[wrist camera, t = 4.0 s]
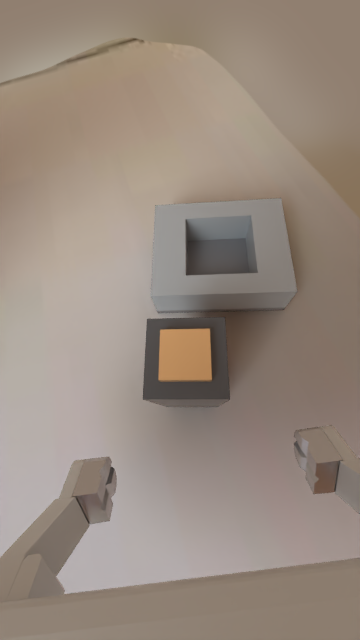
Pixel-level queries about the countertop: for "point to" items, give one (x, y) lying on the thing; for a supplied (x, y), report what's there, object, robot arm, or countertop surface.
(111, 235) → the countertop surface
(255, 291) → the socket plate
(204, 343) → the plug
